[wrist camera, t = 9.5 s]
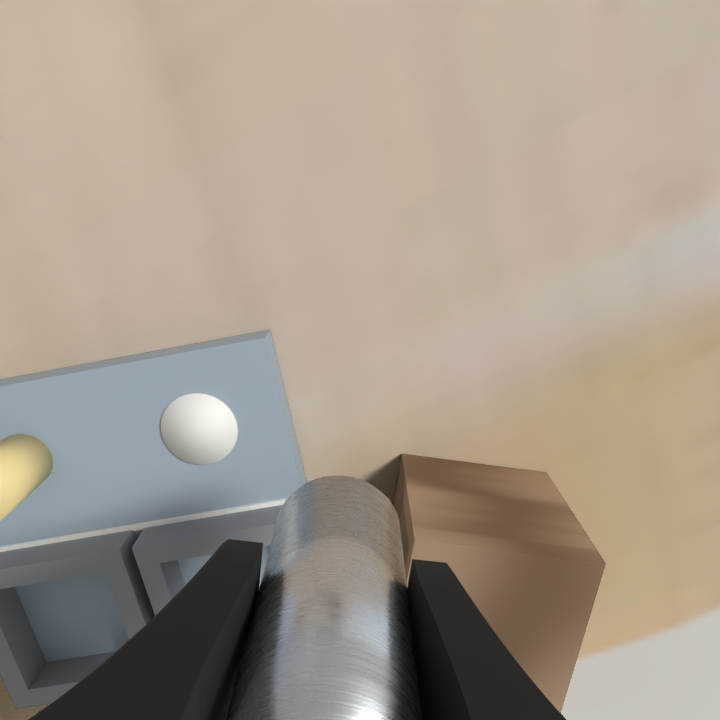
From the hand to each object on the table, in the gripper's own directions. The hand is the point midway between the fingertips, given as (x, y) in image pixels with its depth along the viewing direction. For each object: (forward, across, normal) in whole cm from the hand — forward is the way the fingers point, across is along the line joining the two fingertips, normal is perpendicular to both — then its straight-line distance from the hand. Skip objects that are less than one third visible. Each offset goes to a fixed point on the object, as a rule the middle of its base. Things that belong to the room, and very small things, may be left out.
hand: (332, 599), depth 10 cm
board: (+9, +7, +5) cm, 13 cm away
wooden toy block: (+9, -5, +4) cm, 11 cm away
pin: (+2, 0, 0) cm, 2 cm away
